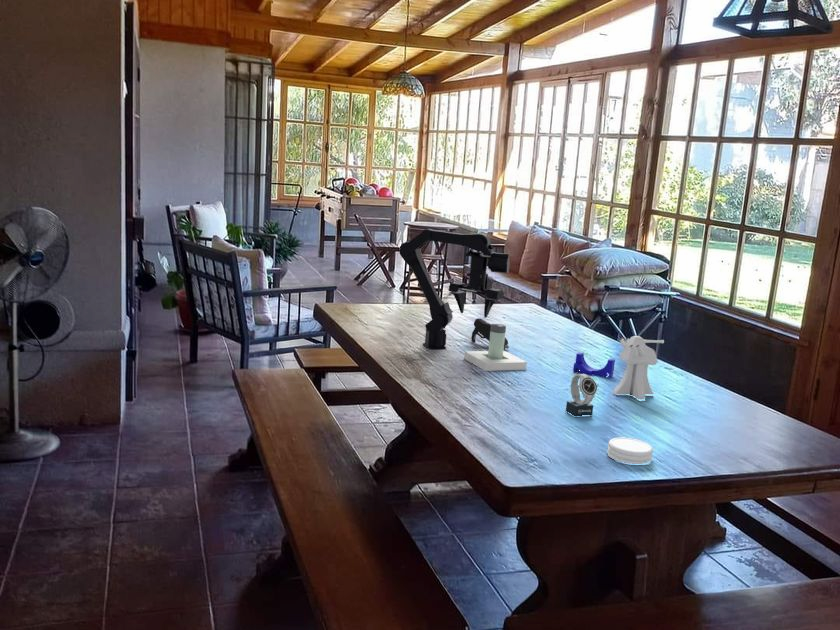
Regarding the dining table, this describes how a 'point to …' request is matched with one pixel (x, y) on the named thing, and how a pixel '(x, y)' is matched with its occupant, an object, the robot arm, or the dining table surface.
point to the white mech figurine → (636, 366)
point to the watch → (588, 391)
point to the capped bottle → (496, 341)
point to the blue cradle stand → (586, 369)
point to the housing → (495, 361)
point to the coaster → (629, 450)
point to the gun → (484, 331)
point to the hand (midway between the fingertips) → (473, 315)
